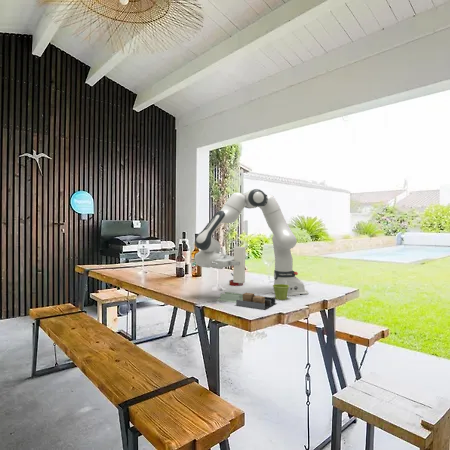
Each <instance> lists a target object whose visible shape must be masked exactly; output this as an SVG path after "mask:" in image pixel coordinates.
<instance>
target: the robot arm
mask: <svg viewBox="0 0 450 450" xmlns="http://www.w3.org/2000/svg"><path fill="white" fill-rule="evenodd" d="M244 208H246V209H256V208H259V209H260V210H261V211H262V213H263V216H264V219H265V221H266V224H267V226H268V229H270V230H271V232H272V238H271V240H272V247H273V253H274V271H273V278H274V281H273V285H275V284H285V285H289V288H288V292H287V297H289V296H290V297H291V296H301V295H300V294H303V295H309V291H308V290H307V289H306V288H305V283H304V282H303V281H301V280H300V279H299V278H298V277H296V276H298V274H299V272H297V271H294V270H293V256H292V251H291V249H293V248H294V247H296V245H297V241H298V240H297V237H296V235H295V234H294V233H293V231H292V230H291V229H292V228H290V226H289V224H288V223H287V221H286V219H285V217H284V215H283V211H282V210H281V207H280V205H279V203H278V201H277V199H276V198H275V197H274V196H273V195H271V194H266V193H265V192H264V191H263V190H261V189H258V188H255V189H254V188H253V189H251V190H248V191H246V192H245V193H243V194H242V193H241V192H238V191H237V192H234V193H232V194H231V195H230V196H229V197H228V199H227V200H226V202H225V204H223V207H222V208H221V209H220V210H219V211H217V212H216V213H215V214H214V215H213V216H212V217H211V218H210V220H209V221H208V223H206V225H205V227H204V228H203V229H202V230H201V232H199V233H198V234H197V235H196V237H195V240H194V245H195V246H196V248H197V249H198V250H199V251H198V252H196V253H195V254H194V262H195V264H196V265H197V266H199V267H201V268H207V269H208V268H209V269H210V268H212V269H216V270H217V269H218V270H223V269H224V268H228V267H232V266H234V265H239V264H240V262H235V261H234V255H233V256H232V255H229V254H224V253H220V251H221V243H220V242H219V241H218V240H217V239H215V238H214V237H213V235H214V233H216V230H217V229H218V228H219V226H220V225H221V224H224V223H226V224H232V223H235V222H236V221H237V220H238V218H239V217H240V215H241V213H242V211H243V210H244ZM271 293H272V294H275V291H274V287H273V286H272V291H271Z"/></svg>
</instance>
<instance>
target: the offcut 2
mask: <svg viewBox="0 0 450 450" xmlns="http://www.w3.org/2000/svg"><path fill="white" fill-rule="evenodd" d="M262 296H263V295H256V296H254V297H253V302H258V303H265V297H266V296H264V297H262Z"/></svg>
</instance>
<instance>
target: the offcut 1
mask: <svg viewBox="0 0 450 450" xmlns="http://www.w3.org/2000/svg"><path fill="white" fill-rule="evenodd" d="M242 294H243V300H244V301H251V302H253V297H254V295H255V293H253V292H245V293H242Z"/></svg>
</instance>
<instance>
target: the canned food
mask: <svg viewBox="0 0 450 450" xmlns="http://www.w3.org/2000/svg"><path fill="white" fill-rule="evenodd" d="M230 275H231V276H232V277H233V273H232V272H231V273H230ZM229 286H231V287H241V286H244V283H235V282H233V279H230V280H229Z"/></svg>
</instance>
